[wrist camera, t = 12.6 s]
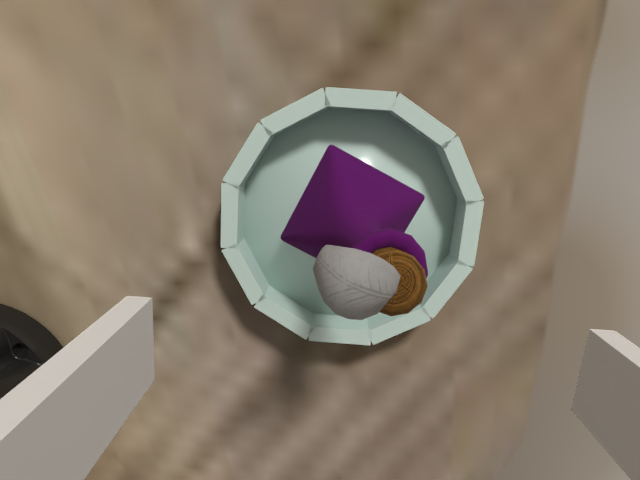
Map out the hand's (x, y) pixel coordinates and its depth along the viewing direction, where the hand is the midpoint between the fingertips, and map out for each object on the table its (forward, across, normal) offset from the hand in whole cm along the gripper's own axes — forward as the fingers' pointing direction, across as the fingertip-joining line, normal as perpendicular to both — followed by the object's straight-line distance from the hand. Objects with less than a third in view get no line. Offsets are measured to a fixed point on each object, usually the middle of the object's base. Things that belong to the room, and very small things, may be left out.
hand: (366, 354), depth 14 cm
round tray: (+22, 0, 0) cm, 22 cm away
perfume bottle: (+22, 0, +1) cm, 22 cm away
